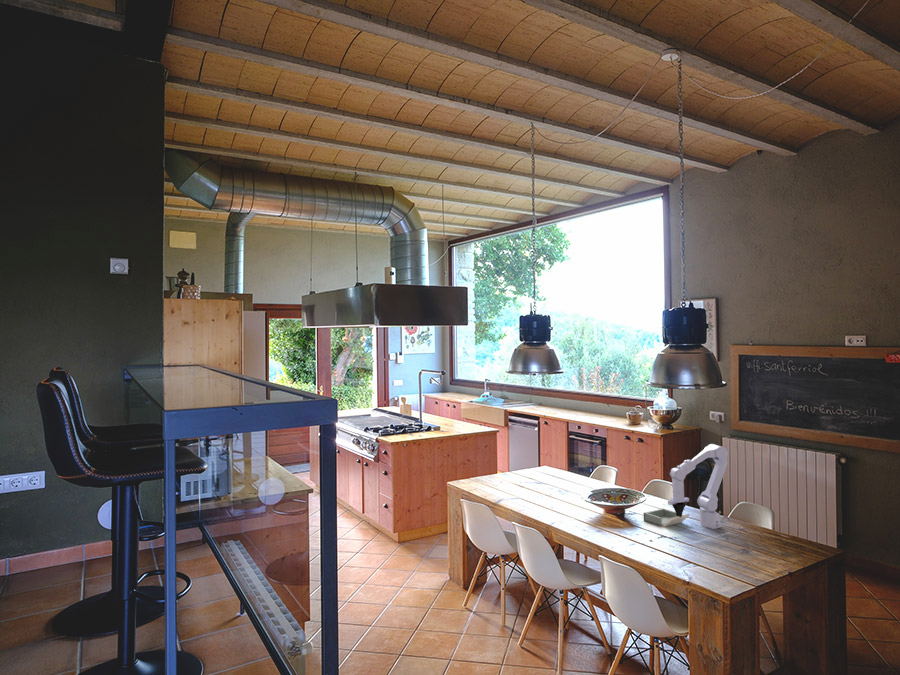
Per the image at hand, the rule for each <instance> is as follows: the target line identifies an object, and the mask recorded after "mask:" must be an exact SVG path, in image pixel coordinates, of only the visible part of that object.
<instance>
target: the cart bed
mask: <svg viewBox="0 0 900 675" xmlns="http://www.w3.org/2000/svg"><path fill="white" fill-rule="evenodd" d="M673 517H677V516H676V512H675V511H673V510H670V509H666V508H660V509H654V510H651V511H646V512H643V522H646V523H649V524H652V525H655V526H658V527H663V525H664V524H665V523H666V522H667V521H668V520H669V519H670V518H673Z"/></svg>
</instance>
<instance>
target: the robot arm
mask: <svg viewBox="0 0 900 675" xmlns="http://www.w3.org/2000/svg"><path fill="white" fill-rule="evenodd" d="M728 455H729V452H728V450H727V449H726V447H724V446H721V445H717V444H714V443H710V444H707V446H705V447H704V449H702V450H701V451H700V452H699V453H698V454H697V455H695V456H694V457H693V458H692V459H685V460H683V462H682V463H680V464H679V465H676V467H673V468H671V469H670V472H669V476H670V477H671V481H672V482H671V483H672V484H671V488H672V490H671V491H672V497H671V498H670V499H669V500H667V505H670V506H672V508H673V509H674V512H676V516H679V517H682V515H683V513H684V509H685V507H686V503H688V502H690V498H689V497H687V496H686V497H685V484H684V480H685V478H686V476H687V475H688V474H690V473H691V472H693V471H694V470H695V469H696V466H697V465H698V464H700V463H702V462H704V461H705V460H706V459H708V458H711V459H712V460H713V461H714V463H715V464H714V467H713V468H712V472H711V475H710V478H709V480H708V484H707V486H706V488H705V490H704V491H702V492H701V493H700V495H699V496H698V498H697V500H696V503H697V505H698V506H699V513H700V514H699V517H700V518H699V520H700V521H699V522H700V526H701V527H704V528H709V529H711V530H715V529H718V528H721V526H722V525H721V524H722V523H721V515H720V513H719V512H717V511H716V510H717V508H718V501H719V498H718V496H717V493H718V491H719V489H720V485H721V482H722V480H723V478H724V475H725V472H726V469H727V467H728Z"/></svg>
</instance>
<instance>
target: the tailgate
mask: <svg viewBox="0 0 900 675" xmlns="http://www.w3.org/2000/svg"><path fill="white" fill-rule="evenodd" d="M688 517H690V513H686V514H682V517H679V516H677V517H673V518H670V519H669V520H668V521H667V522H666V523H665V524H664V525H663V526H662V527H663V528H666V527H669V526H674V525H676V524H681V523H683V522H684V521H685V520H686V519H687V518H688Z"/></svg>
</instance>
